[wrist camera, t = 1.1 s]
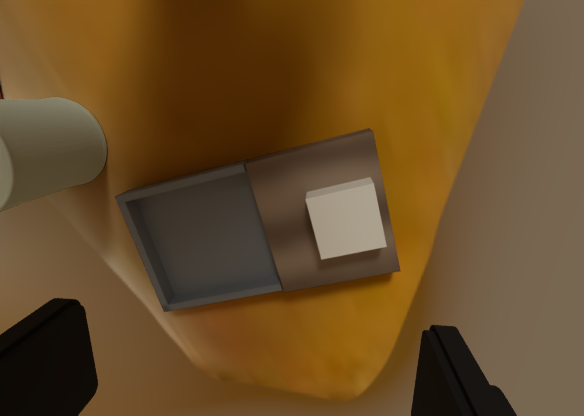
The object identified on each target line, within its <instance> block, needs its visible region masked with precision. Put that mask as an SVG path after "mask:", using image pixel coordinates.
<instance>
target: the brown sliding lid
mask: <svg viewBox="0 0 584 416" xmlns="http://www.w3.org/2000/svg"><path fill="white" fill-rule="evenodd" d="M245 166H246V169H247V172H248V176H249V179H250V182H251V186H252V189H253V192H254V195H255V199H256V202H257V205H258V208H259V212H260V215H261V218H262V221H263V225H264V228H265V231H266V234H267V238H268V241H269V244H270V247H271V251H272V254H273V257H274V260H275V264H276V267H277V270H278V273H279V277H280V280H281V283H282V287H283V290H284V292H289V291H294V290H300V289H305V288H311V287H316V286H322V285H327V284H333V283H338V282H343V281H349V280H354V279H360V278H365V277H371V276H376V275H382V274H387V273H392V272H398V271H400V266H399V261H398V256H397V251H396V246H395V241H394V236H393V231H392V226H391V221H390V216H389V210H388V205H387V200H386V195H385V190H384V185H383V180H382V175H381V170H380V165H379V160H378V154H377V149H376V144H375V139H374V134H373V131H372V130H371V129H369V128H368V129H365V130H361V131H357V132H353V133H349V134H345V135H341V136H337V137H334V138H330V139H326V140H322V141H318V142H314V143H310V144H306V145H303V146H299V147H295V148H291V149H287V150H283V151H279V152H275V153H271V154H268V155H264V156H260V157H256V158H252V159H250V160H249V161H248V162H247V163H245ZM369 177H371V179H372V181H373V183H374V187H375V192H376V196H377V201H378V206H379V211H380V216H381V221H382V226H383V231H384V236H385V241H386V245H387V247H383V248H378V249H373V250H368V251H363V252H358V253H353V254H347V255H342V256H337V257H332V258H327V259H322V260H321V256H320V252H319V249H318V245H317V241H316V237H315V233H314V230H313V226H312V222H311V218H310V215H309V211H308V207H307V203H306V194H307V192H309V191H313V190H318V189H322V188H326V187H330V186H335V185H339V184H343V183H348V182H352V181H356V180H361V179H365V178H369Z"/></svg>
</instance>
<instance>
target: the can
mask: <svg viewBox="0 0 584 416" xmlns="http://www.w3.org/2000/svg"><path fill="white" fill-rule="evenodd" d="M106 157H107V144H106V139H105V136H104V133H103V131H102V129H101V127H100V125H99V123H98V122H97V120H96V119H95V118H94V116H93V115H92V114H91V113H90V112H89V111H88V110H87V109H85V108H84V107H83V106H81V105H80V104H78V103H76V102H74V101H71V100H69V99H65V98H59V97H53V98H46V99H0V211H3V210H6V209H8V208H11V207H13V206H17V205H19V204H22V203H25V202H28V201H31V200H34V199H36V198H39V197H42V196H45V195H48V194H51V193H54V192H57V191H60V190H63V189H66V188H69V187H72V186H75V185H82V184H86V183H88V182H90V181H92V180H93V179H95V178H96V177H97V176H98V175H99V174H100V172H101V171H102V169H103V167H104V165H105V162H106Z"/></svg>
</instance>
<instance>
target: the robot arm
mask: <svg viewBox="0 0 584 416" xmlns="http://www.w3.org/2000/svg"><path fill="white" fill-rule="evenodd" d="M97 386H98V379H97V374H96V368H95V363H94V357H93V352H92V346H91V341H90V335H89V330H88V324H87V319H86V313H85V309H84V307H83V306H82V305H80V302H79V301H78V300H75V299H62V298H54V299H52V300H50V301H49V302H47V303H46V304H44V305H43V306H42V307H40V308H39V309H37V310H36V311H34V312H33V313H31V314H30V315H28V316H27V317H25V318H24V319H23V320H21V321H20V322H18V323H17V324H15V325H14V326H12V327H11V328H9V329H8V330H7V331H5V332H4V333H2V334H1V335H0V416H78V415H79V413H80V412H81V411H82V410H83V409H84V407H85V406H86V405H87V404H88V402H89V401H90V400H91V399H92V398H93V396H94V395H95V393H96V390H97ZM411 416H517V415H516V413H515V412H514V410H513V408H512V407H511V405H510V404H509V402H508V400H507V399H506V397H505V396H504V394H503V393H502V391H501V390H500V389H499V388H498V387H496V386H493V385H490V384H489V383H488V381H487V379H486V377H485V376H484V374H483V372H482V370H481V369H480V367H479V365H478V364H477V362H476V360H475V358H474V357H473V355H472V353H471V352H470V350H469V348H468V346H467V345H466V343H465V341H464V340H463V338H462V336H461V334H460V333H459V331H458V329H457V328H456V327H454V326H441V325H432V326H431V327H430V329H429V330H424V331H423V332H422V338H421V345H420V353H419V359H418V366H417V374H416V381H415V389H414V396H413V403H412V410H411Z"/></svg>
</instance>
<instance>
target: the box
mask: <svg viewBox="0 0 584 416" xmlns="http://www.w3.org/2000/svg"><path fill="white" fill-rule="evenodd" d="M248 161H249V159H248V160H244V161H240V162H237V163H233V164H229V165H225V166H221V167H217V168H213V169H209V170H205V171H202V172H198V173H194V174H190V175H186V176H182V177H178V178H174V179H171V180H167V181H163V182H159V183H155V184H151V185H147V186H143V187H140V188H136V189H132V190H128V191H126V192H124V193H122V194H119V195H117V196H115V198H116V200H117V202H118V205H119V207H120V209H121V212H122V214H123V217H124V219H125V221H126V224H127V226H128V228H129V231H130V233H131V235H132V238H133V240H134V242H135V245H136V247H137V249H138V252H139V254H140V257H141V259H142V261H143V264H144V266H145V268H146V271H147V273H148V275H149V278H150V280H151V282H152V285H153V287H154V289H155V292H156V294H157V297H158V299H159V301H160V304H161V306H162V308H163V311H164V312H168V311H173V310H179V309H184V308H189V307H195V306H200V305H206V304H211V303H216V302H222V301H227V300H233V299H238V298H243V297H249V296H254V295H260V294H265V293H270V292H276V291H281V290H282V289H283V287H282V283H281V280H280V277H279V273H278V270H277V267H276V264H275V260H274V257H273V254H272V251H271V247H270V244H269V241H268V238H267V234H266V231H265V228H264V225H263V221H262V218H261V215H260V212H259V208H258V205H257V202H256V199H255V195H254V192H253V189H252V186H251V182H250V179H249V176H248V172H247V169H246V166H245V163H247V162H248Z"/></svg>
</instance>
